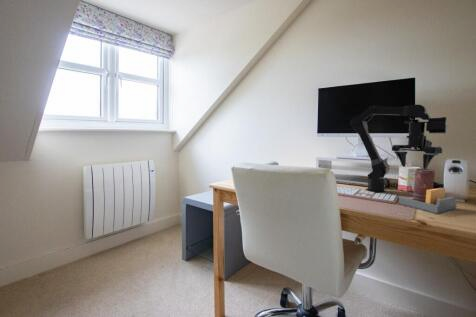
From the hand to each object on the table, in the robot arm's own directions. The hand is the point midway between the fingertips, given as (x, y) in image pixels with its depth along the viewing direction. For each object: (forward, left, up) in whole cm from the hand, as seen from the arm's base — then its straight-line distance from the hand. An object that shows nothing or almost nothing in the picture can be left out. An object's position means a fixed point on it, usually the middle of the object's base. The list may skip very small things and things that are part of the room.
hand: (414, 168), depth 115 cm
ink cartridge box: (-8, +10, -13) cm, 18 cm away
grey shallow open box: (+13, -12, -13) cm, 22 cm away
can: (+11, -11, -13) cm, 20 cm away
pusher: (+16, -12, -13) cm, 24 cm away
